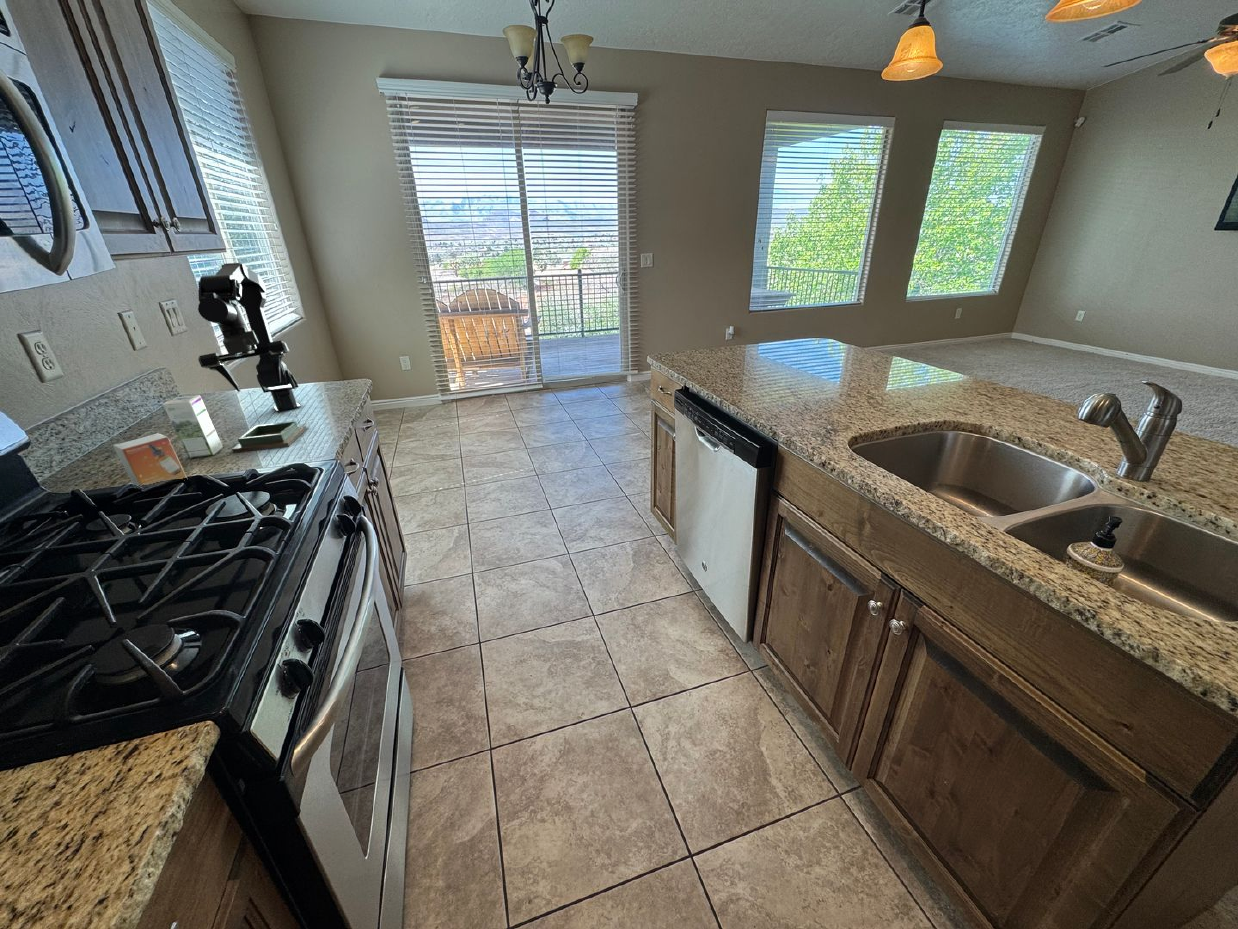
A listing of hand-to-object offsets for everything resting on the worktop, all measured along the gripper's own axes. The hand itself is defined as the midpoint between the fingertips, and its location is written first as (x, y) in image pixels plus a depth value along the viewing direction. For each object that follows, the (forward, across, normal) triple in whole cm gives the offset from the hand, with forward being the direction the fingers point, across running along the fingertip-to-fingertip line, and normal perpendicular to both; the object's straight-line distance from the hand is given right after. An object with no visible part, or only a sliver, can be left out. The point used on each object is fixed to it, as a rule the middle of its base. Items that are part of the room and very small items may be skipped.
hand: (259, 386), depth 127 cm
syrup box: (+13, -17, +1) cm, 21 cm away
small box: (+17, -23, -15) cm, 32 cm away
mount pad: (+14, -2, 0) cm, 14 cm away
